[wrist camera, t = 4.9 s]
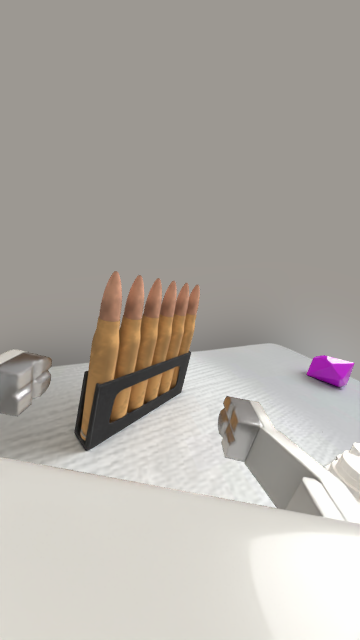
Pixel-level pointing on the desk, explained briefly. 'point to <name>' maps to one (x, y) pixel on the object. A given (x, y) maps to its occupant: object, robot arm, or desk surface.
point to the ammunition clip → (135, 357)
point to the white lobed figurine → (348, 469)
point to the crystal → (330, 370)
